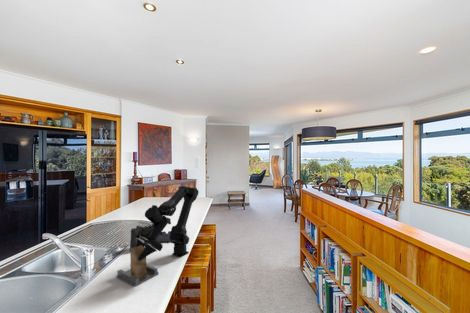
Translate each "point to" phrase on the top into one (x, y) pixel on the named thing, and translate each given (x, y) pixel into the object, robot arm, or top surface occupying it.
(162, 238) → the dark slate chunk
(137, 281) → the bottom track
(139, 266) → the walnut block
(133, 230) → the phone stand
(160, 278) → the top surface
